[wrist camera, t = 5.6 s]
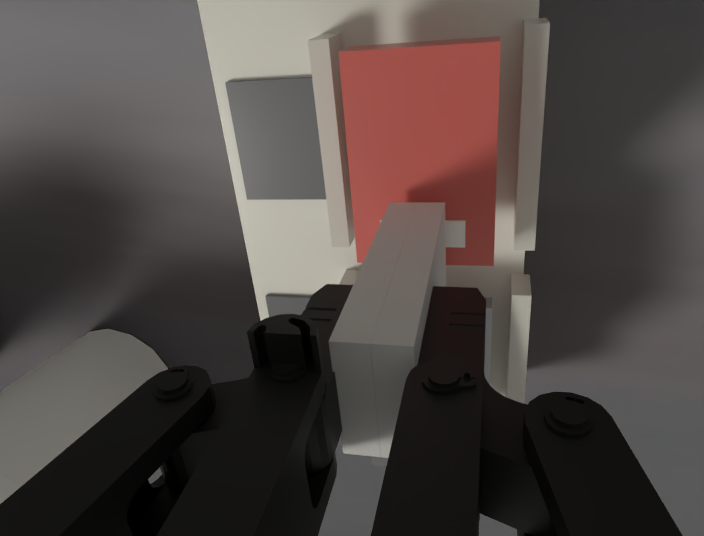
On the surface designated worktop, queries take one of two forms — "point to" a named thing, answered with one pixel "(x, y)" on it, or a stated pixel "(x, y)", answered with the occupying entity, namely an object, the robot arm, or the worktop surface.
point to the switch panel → (331, 148)
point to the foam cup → (67, 400)
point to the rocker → (425, 137)
